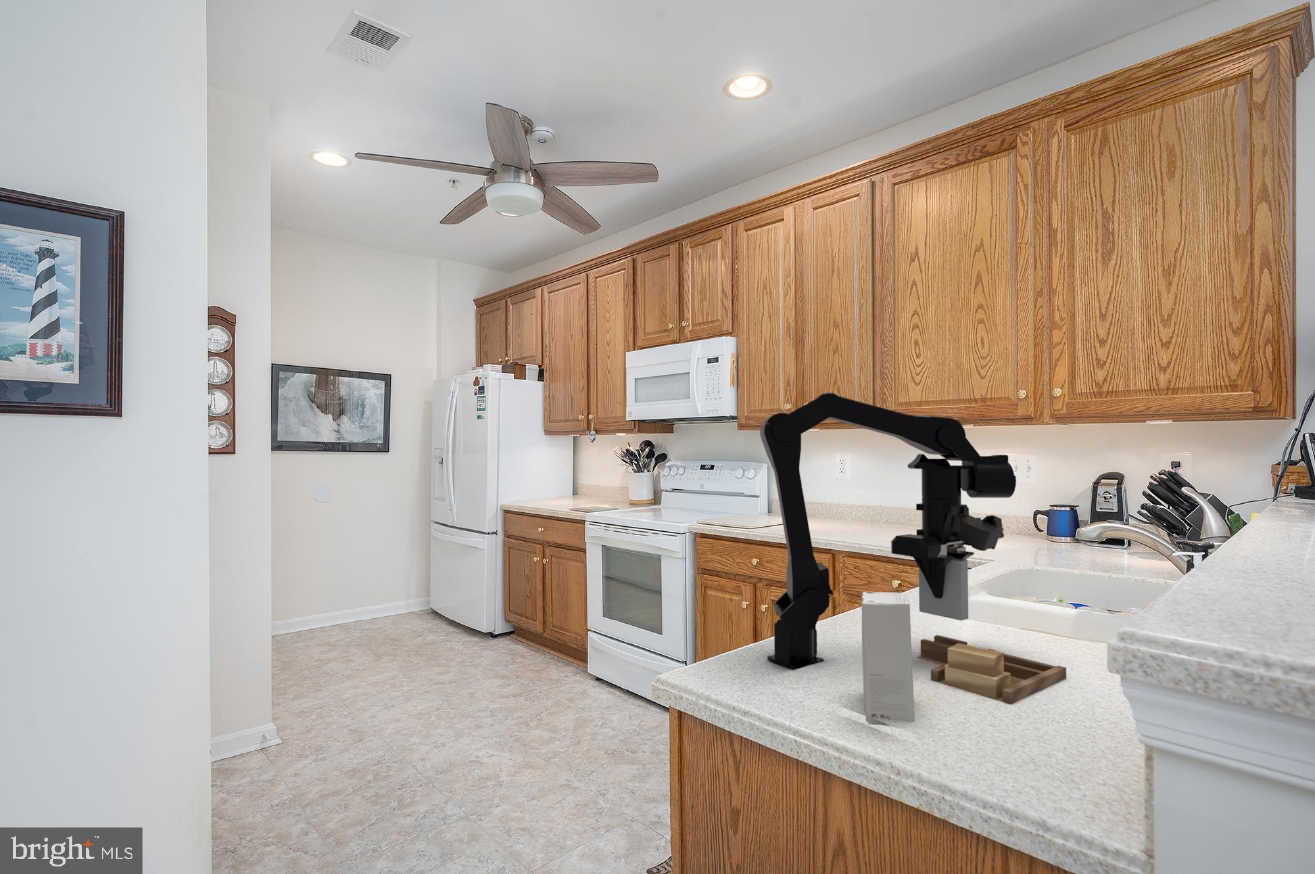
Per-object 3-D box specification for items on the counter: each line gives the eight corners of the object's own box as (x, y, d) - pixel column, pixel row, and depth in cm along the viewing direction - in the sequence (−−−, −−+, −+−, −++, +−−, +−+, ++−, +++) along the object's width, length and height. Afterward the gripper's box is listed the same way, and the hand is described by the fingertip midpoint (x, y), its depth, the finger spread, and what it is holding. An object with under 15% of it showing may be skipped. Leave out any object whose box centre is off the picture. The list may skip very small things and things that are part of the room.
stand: (946, 672, 98) (946, 648, 98) (916, 663, 102) (916, 641, 102) (971, 663, 102) (971, 640, 102) (941, 655, 106) (941, 633, 106)
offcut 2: (995, 698, 85) (995, 679, 85) (945, 683, 90) (944, 665, 90) (1010, 691, 87) (1010, 673, 87) (960, 677, 93) (960, 659, 93)
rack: (1010, 711, 83) (1010, 691, 83) (931, 686, 92) (930, 668, 92) (1066, 685, 92) (1066, 667, 92) (989, 664, 101) (988, 648, 101)
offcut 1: (994, 677, 85) (993, 658, 85) (947, 666, 90) (947, 648, 90) (1003, 670, 88) (1003, 652, 88) (958, 660, 92) (958, 643, 92)
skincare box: (915, 729, 78) (913, 605, 78) (862, 723, 79) (861, 601, 80) (910, 704, 86) (909, 590, 86) (862, 698, 87) (861, 588, 88)
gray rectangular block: (961, 620, 98) (960, 561, 99) (919, 611, 104) (918, 555, 104) (968, 618, 100) (967, 559, 100) (926, 609, 105) (925, 554, 106)
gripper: (958, 503, 90) (959, 616, 90) (1022, 498, 101) (1024, 598, 101) (888, 499, 100) (889, 601, 99) (954, 494, 110) (956, 586, 110)
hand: (942, 597), depth 102 cm, fingers closed on gray rectangular block, 2 cm apart
